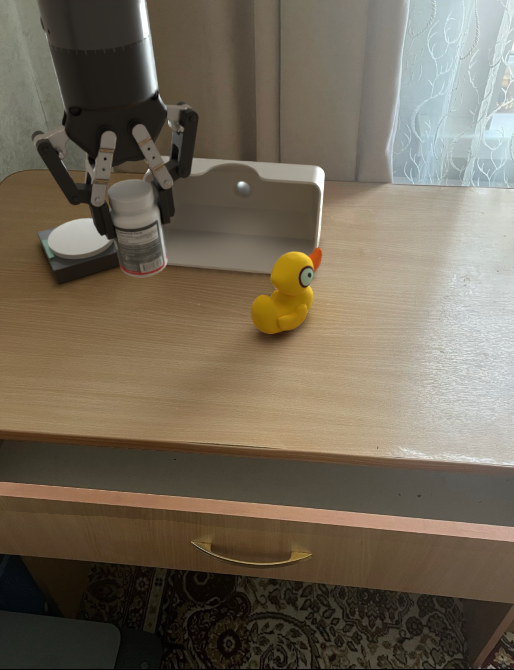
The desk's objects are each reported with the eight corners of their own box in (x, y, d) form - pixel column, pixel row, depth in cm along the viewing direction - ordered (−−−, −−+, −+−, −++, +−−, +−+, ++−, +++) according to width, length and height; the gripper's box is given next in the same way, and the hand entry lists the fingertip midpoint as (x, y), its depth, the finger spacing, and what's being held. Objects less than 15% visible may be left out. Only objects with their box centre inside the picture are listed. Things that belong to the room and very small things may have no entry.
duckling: (302, 292, 77) (305, 230, 70) (331, 310, 74) (337, 248, 67) (241, 331, 71) (238, 269, 64) (270, 353, 68) (270, 290, 61)
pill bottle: (129, 249, 57) (113, 174, 51) (173, 252, 57) (162, 177, 51) (113, 277, 54) (94, 201, 48) (160, 281, 53) (146, 204, 48)
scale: (58, 284, 79) (52, 266, 77) (41, 245, 86) (35, 227, 84) (132, 261, 82) (128, 243, 80) (110, 226, 89) (106, 208, 87)
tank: (323, 217, 90) (328, 144, 81) (314, 278, 79) (319, 200, 70) (175, 206, 93) (165, 134, 85) (145, 262, 82) (131, 186, 73)
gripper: (5, 60, 36) (71, 270, 48) (208, 27, 40) (222, 227, 52) (-11, 30, 41) (52, 228, 53) (172, 4, 45) (192, 191, 57)
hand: (137, 226), depth 52 cm, fingers closed on pill bottle, 4 cm apart
